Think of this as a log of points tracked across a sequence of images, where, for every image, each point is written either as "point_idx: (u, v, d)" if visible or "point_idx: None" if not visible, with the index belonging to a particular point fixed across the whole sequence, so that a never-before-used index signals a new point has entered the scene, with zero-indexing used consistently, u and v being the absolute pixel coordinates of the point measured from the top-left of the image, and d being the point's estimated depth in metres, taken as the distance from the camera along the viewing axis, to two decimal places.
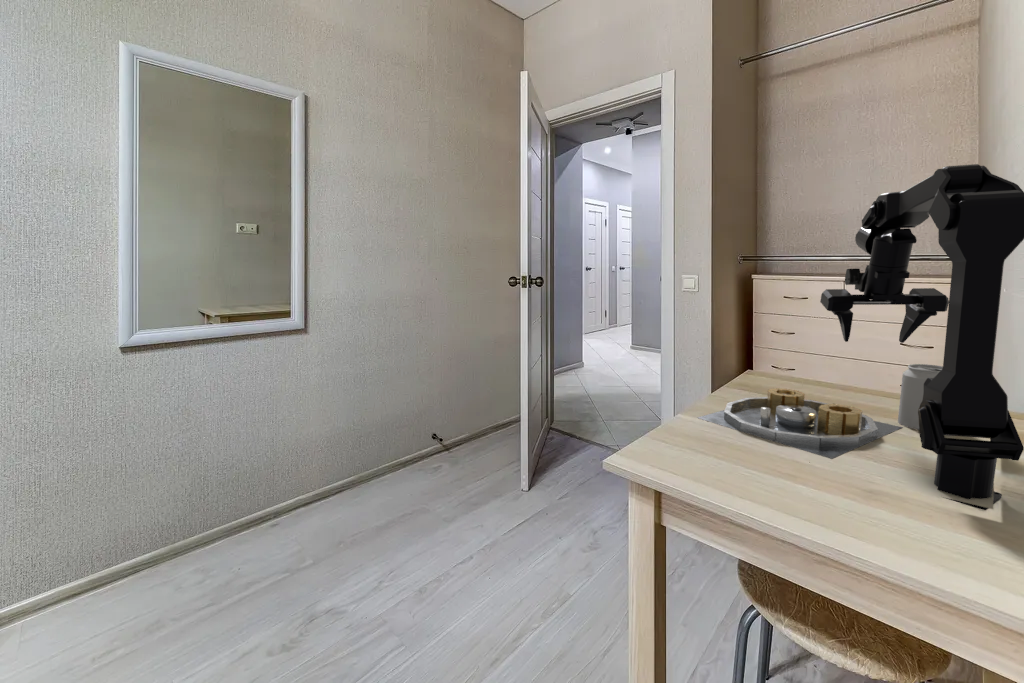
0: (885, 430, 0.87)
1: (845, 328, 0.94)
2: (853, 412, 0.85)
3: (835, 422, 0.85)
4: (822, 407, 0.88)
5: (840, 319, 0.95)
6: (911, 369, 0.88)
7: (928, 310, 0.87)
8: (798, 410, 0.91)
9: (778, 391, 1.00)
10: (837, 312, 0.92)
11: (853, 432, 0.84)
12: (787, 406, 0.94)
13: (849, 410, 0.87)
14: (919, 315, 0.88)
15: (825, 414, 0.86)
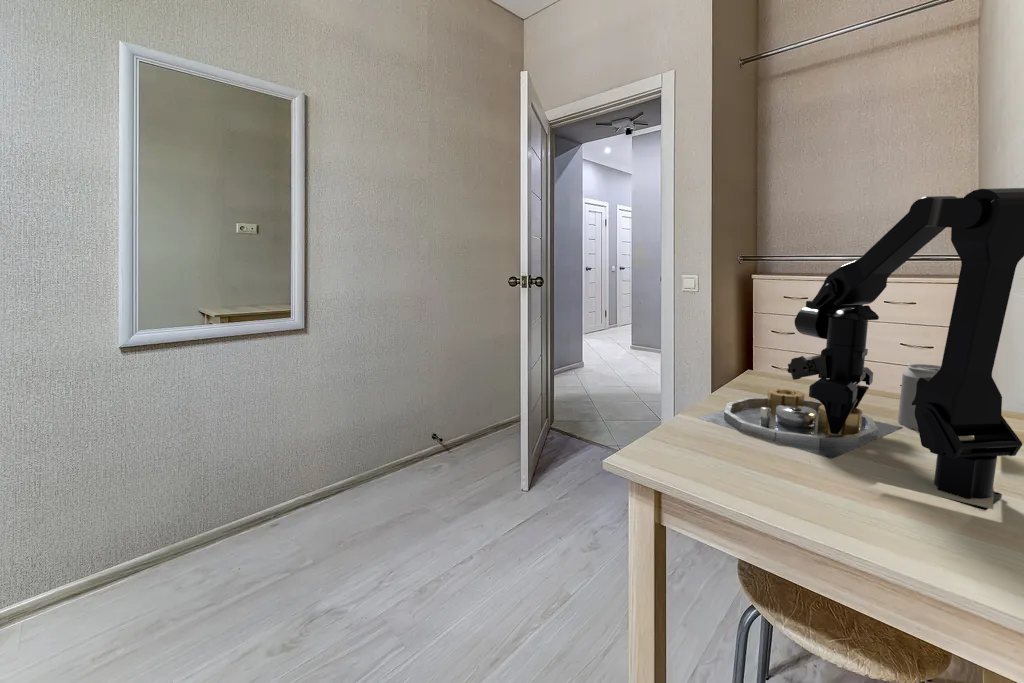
0: (885, 430, 0.87)
1: (846, 418, 0.83)
2: (853, 412, 0.85)
3: None
4: (822, 407, 0.88)
5: (830, 410, 0.84)
6: (911, 369, 0.88)
7: (870, 383, 0.88)
8: (798, 410, 0.91)
9: (778, 391, 1.00)
10: None
11: (853, 432, 0.84)
12: (787, 406, 0.94)
13: None
14: (865, 391, 0.87)
15: (825, 414, 0.86)
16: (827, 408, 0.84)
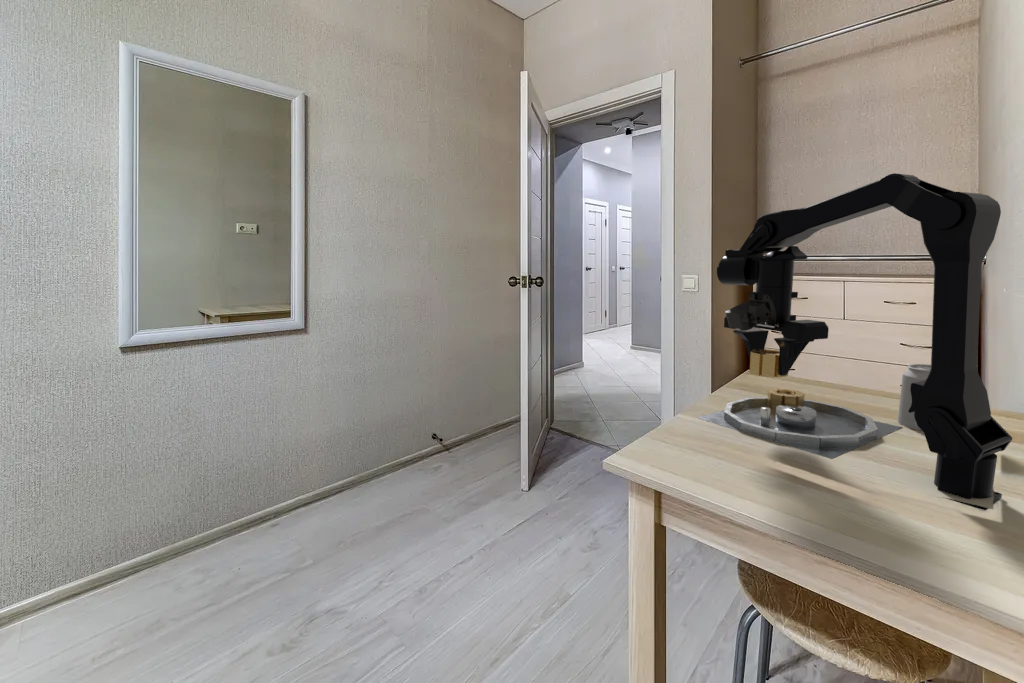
0: (885, 430, 0.87)
1: None
2: None
3: None
4: (761, 353, 0.87)
5: (787, 353, 0.83)
6: (911, 369, 0.88)
7: None
8: (798, 410, 0.91)
9: (778, 391, 1.00)
10: None
11: None
12: (787, 406, 0.94)
13: (770, 352, 0.90)
14: (767, 332, 0.92)
15: (773, 359, 0.85)
16: (787, 351, 0.83)
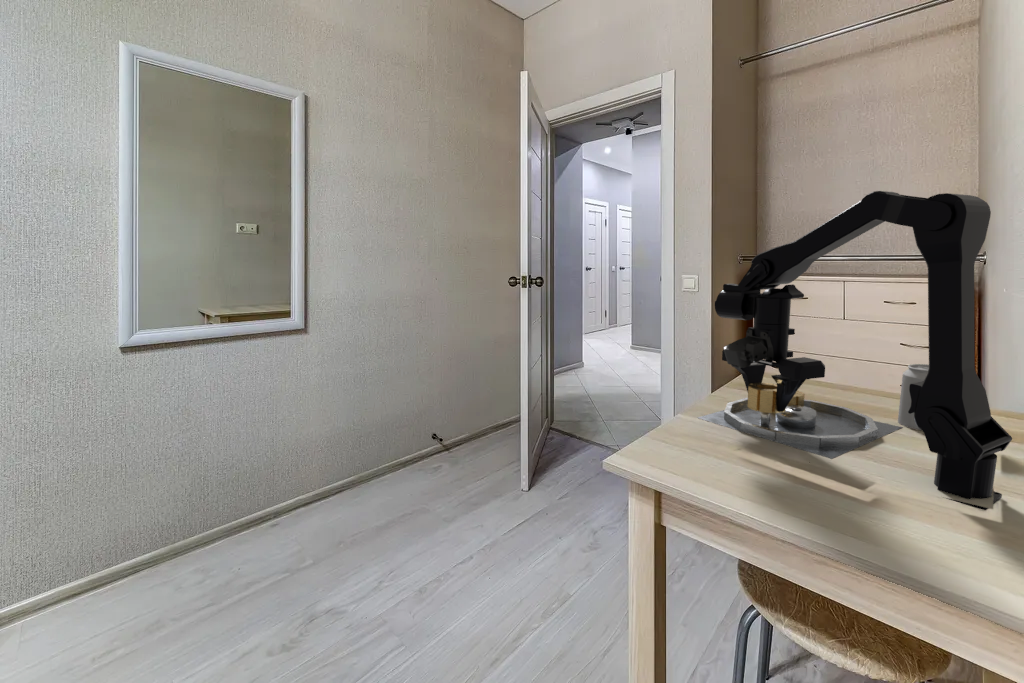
0: (885, 430, 0.87)
1: None
2: None
3: None
4: (759, 389, 0.88)
5: (784, 389, 0.84)
6: (911, 369, 0.88)
7: None
8: (798, 410, 0.91)
9: None
10: None
11: None
12: (787, 406, 0.94)
13: (767, 386, 0.91)
14: None
15: (771, 395, 0.86)
16: (784, 388, 0.84)
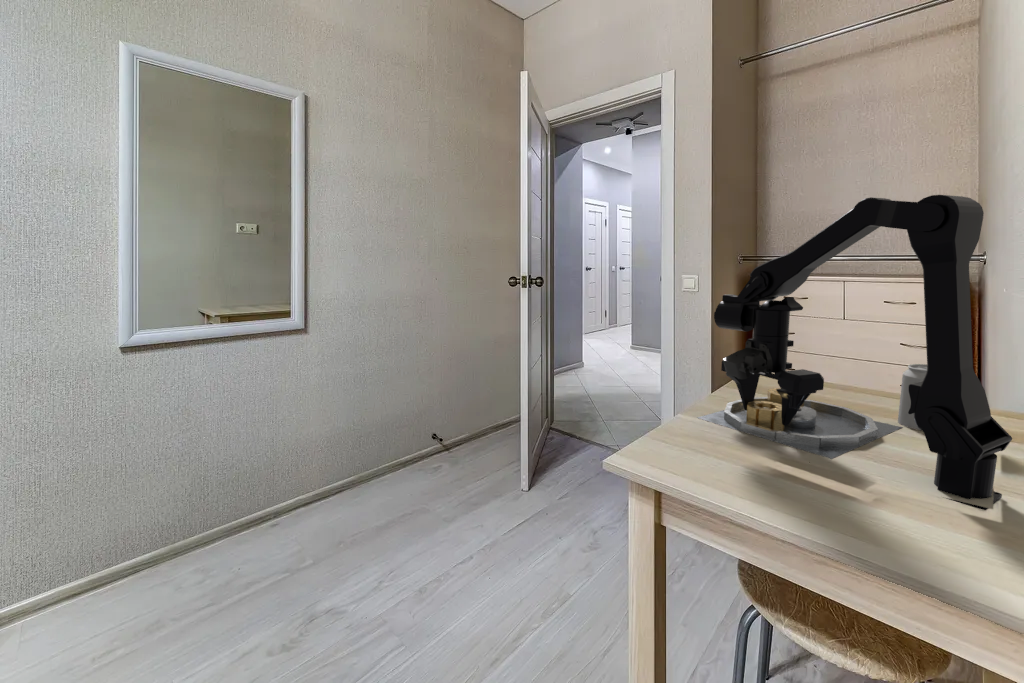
0: (885, 430, 0.87)
1: None
2: (779, 405, 0.89)
3: (778, 419, 0.87)
4: (758, 408, 0.88)
5: (789, 403, 0.84)
6: (911, 369, 0.88)
7: None
8: (798, 410, 0.91)
9: None
10: None
11: None
12: None
13: (766, 405, 0.91)
14: None
15: (769, 414, 0.87)
16: (789, 402, 0.83)
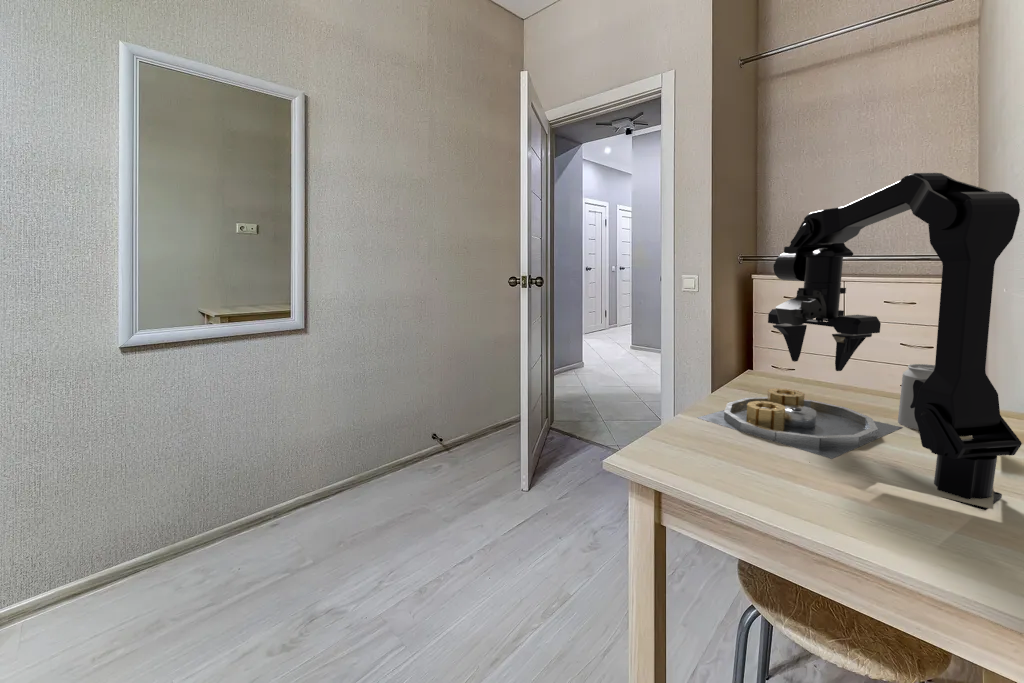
0: (885, 430, 0.87)
1: None
2: (779, 405, 0.89)
3: (778, 419, 0.87)
4: (758, 408, 0.88)
5: (844, 348, 0.84)
6: (911, 369, 0.88)
7: None
8: (798, 410, 0.91)
9: (778, 391, 1.00)
10: (869, 333, 0.83)
11: None
12: (787, 406, 0.94)
13: (766, 405, 0.91)
14: (805, 327, 0.96)
15: (769, 414, 0.87)
16: (845, 346, 0.84)
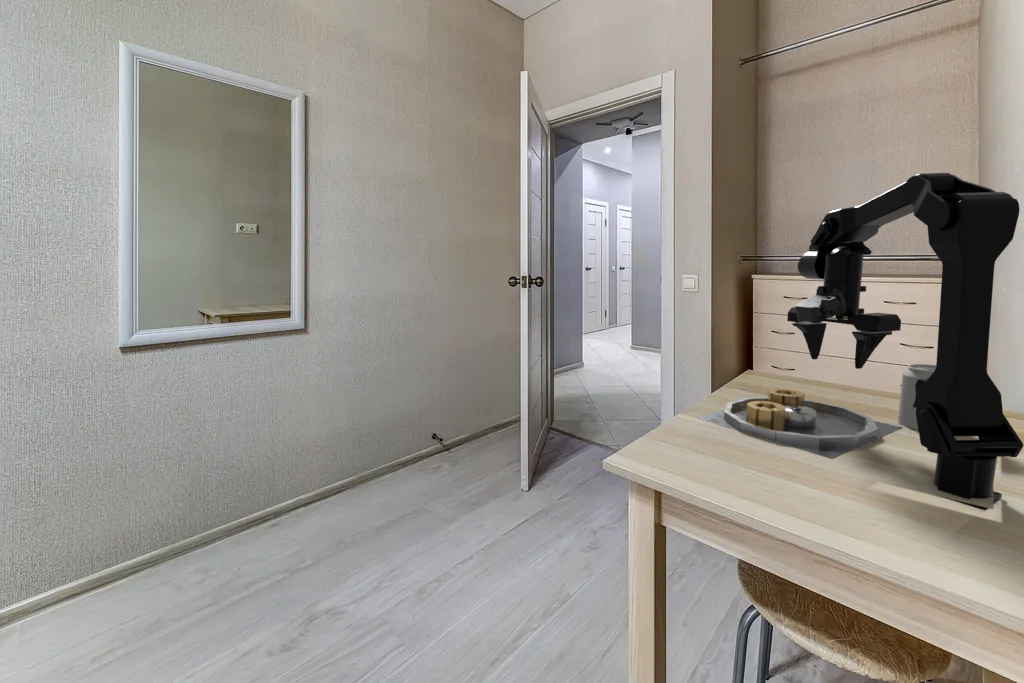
0: (885, 430, 0.87)
1: None
2: (779, 405, 0.89)
3: (778, 419, 0.87)
4: (758, 408, 0.88)
5: (864, 346, 0.85)
6: (911, 369, 0.88)
7: None
8: (798, 410, 0.91)
9: (778, 391, 1.00)
10: (889, 331, 0.84)
11: None
12: (787, 406, 0.94)
13: (766, 405, 0.91)
14: (825, 325, 0.96)
15: (769, 414, 0.87)
16: (865, 344, 0.85)
